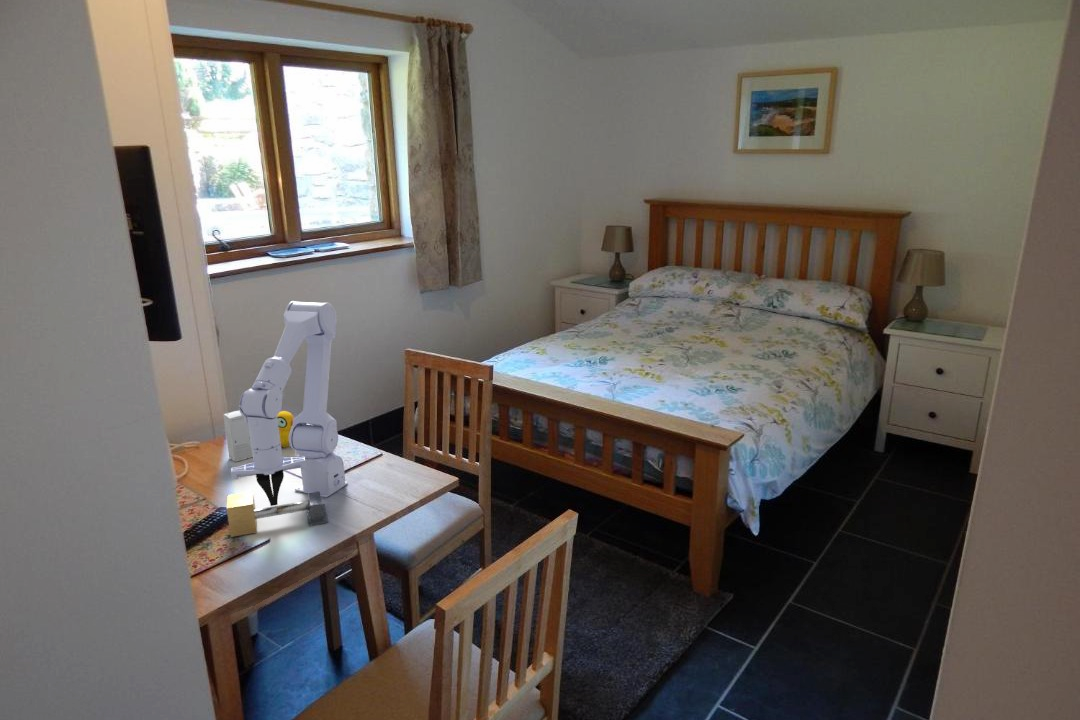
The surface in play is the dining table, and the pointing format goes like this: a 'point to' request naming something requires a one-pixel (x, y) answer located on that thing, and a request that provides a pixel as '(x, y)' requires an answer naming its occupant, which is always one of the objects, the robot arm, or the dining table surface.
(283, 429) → the duckling
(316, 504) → the pillow block
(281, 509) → the shaft inner
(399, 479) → the dining table surface
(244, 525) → the block
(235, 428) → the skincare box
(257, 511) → the shaft outer
